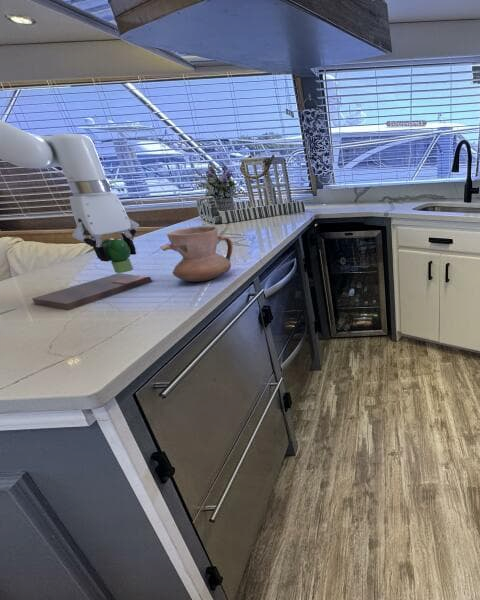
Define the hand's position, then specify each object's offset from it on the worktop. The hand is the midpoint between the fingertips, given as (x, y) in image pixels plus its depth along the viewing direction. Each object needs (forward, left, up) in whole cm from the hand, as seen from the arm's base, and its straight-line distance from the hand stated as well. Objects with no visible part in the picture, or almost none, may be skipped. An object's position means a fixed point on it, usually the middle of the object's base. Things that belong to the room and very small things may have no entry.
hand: (118, 256), depth 88 cm
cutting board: (-6, +4, -8) cm, 11 cm away
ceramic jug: (+11, -17, -8) cm, 22 cm away
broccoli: (0, 0, -4) cm, 4 cm away
